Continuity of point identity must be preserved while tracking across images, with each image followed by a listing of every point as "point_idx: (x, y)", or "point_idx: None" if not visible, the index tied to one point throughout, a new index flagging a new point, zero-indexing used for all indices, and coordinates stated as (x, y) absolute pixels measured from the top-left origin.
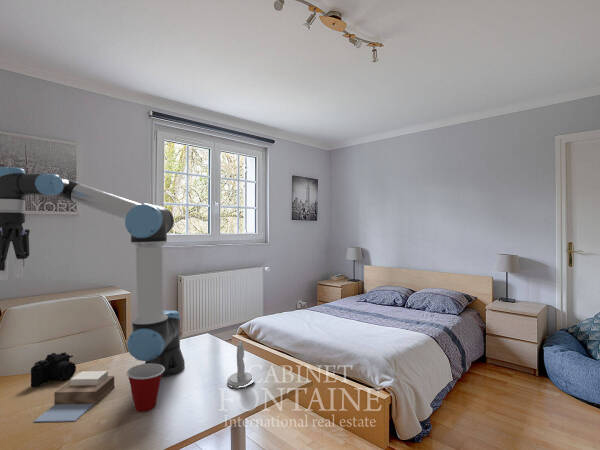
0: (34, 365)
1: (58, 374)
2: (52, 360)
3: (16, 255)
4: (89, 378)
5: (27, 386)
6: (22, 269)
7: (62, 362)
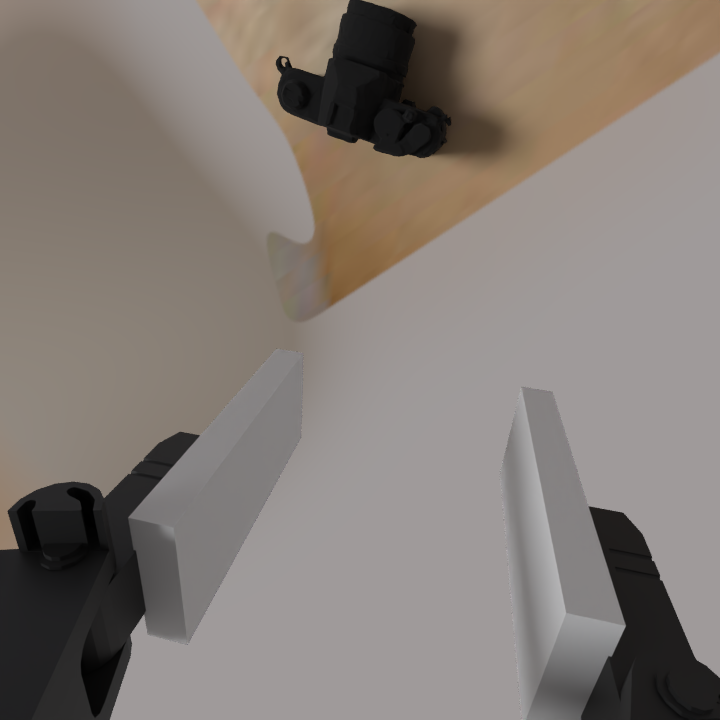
0: (425, 142)
1: (412, 47)
2: (376, 90)
3: (111, 696)
4: None
5: (430, 167)
6: (254, 400)
7: (369, 47)
